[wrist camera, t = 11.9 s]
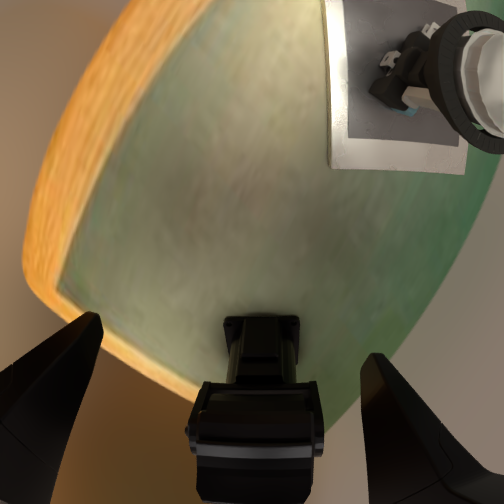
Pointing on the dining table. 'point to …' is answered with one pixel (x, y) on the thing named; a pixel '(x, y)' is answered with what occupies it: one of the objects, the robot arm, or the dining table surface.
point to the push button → (452, 77)
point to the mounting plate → (371, 108)
